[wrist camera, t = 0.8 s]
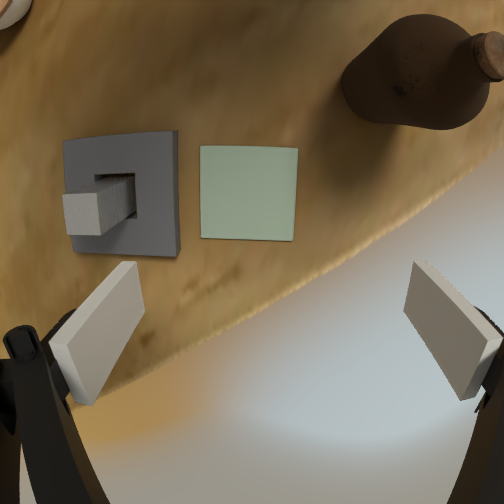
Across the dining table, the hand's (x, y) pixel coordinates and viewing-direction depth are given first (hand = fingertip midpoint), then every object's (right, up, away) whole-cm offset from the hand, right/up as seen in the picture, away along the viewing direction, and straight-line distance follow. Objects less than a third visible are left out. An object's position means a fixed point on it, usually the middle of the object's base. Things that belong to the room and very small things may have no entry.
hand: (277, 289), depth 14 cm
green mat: (-2, +9, +26) cm, 28 cm away
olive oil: (+15, +23, +20) cm, 34 cm away
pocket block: (-19, +10, +26) cm, 34 cm away
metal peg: (-19, +10, +26) cm, 34 cm away
